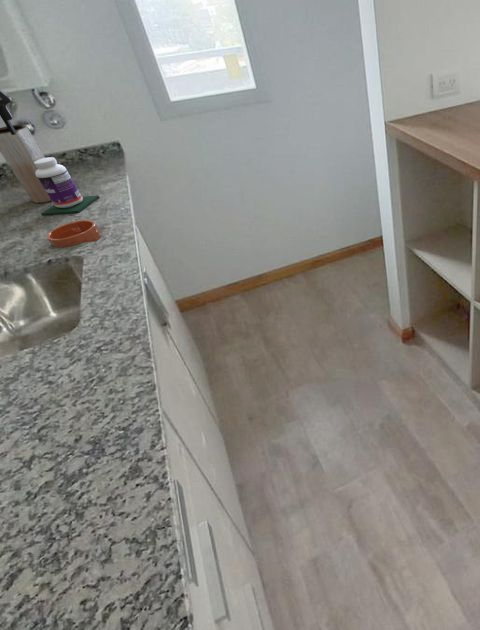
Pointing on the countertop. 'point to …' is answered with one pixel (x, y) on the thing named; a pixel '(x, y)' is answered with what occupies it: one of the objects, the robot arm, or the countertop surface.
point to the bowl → (74, 233)
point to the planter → (23, 160)
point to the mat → (74, 209)
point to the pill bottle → (57, 183)
